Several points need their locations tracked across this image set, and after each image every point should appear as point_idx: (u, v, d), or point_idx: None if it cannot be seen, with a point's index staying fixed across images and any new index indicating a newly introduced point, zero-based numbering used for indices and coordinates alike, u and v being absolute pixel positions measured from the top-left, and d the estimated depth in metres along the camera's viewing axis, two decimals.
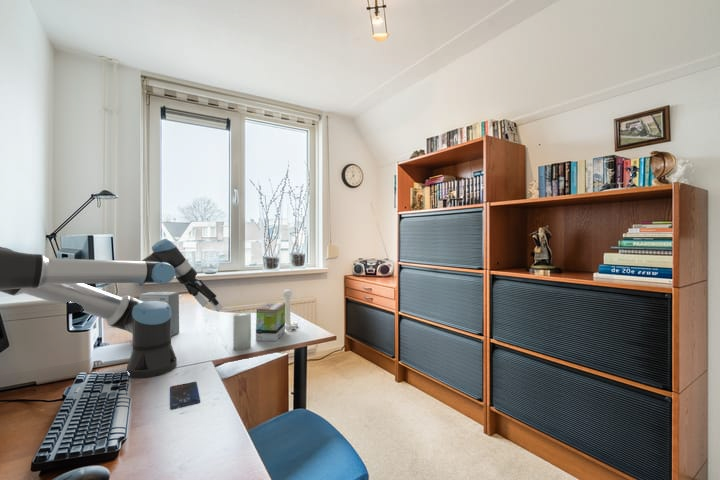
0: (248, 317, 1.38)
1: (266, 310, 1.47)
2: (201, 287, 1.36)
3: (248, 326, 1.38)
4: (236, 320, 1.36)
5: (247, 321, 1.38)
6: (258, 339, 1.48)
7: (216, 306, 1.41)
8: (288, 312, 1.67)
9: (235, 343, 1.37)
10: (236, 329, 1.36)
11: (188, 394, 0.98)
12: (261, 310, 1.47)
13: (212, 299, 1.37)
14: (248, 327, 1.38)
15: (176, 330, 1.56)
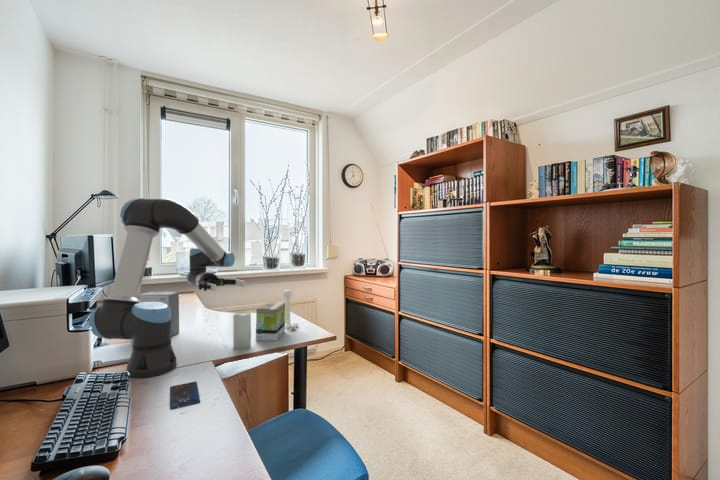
0: (248, 317, 1.38)
1: (266, 310, 1.47)
2: None
3: (248, 326, 1.38)
4: (236, 320, 1.36)
5: (247, 321, 1.38)
6: (258, 339, 1.48)
7: None
8: (288, 312, 1.67)
9: (235, 343, 1.37)
10: (235, 329, 1.36)
11: (188, 394, 0.98)
12: (261, 310, 1.47)
13: (241, 279, 1.58)
14: (248, 327, 1.38)
15: (176, 330, 1.56)
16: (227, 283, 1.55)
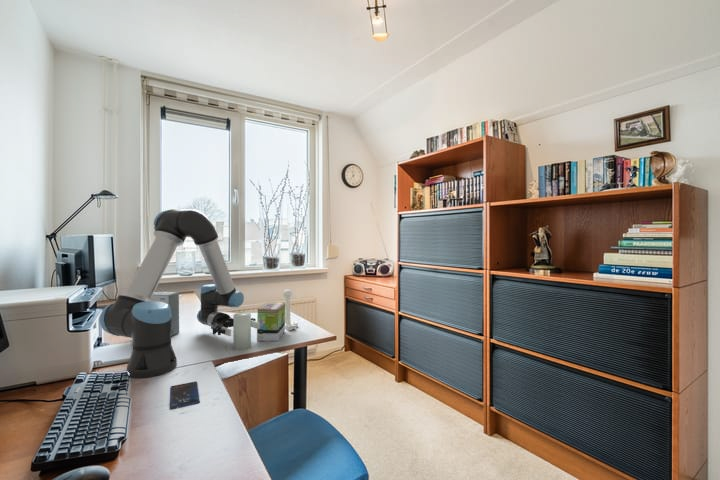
0: (248, 317, 1.38)
1: (267, 310, 1.47)
2: None
3: (248, 326, 1.38)
4: (236, 320, 1.36)
5: (247, 321, 1.38)
6: (259, 339, 1.47)
7: None
8: (288, 312, 1.67)
9: (235, 343, 1.37)
10: (236, 329, 1.36)
11: (188, 394, 0.98)
12: (262, 310, 1.47)
13: (255, 319, 1.51)
14: (248, 327, 1.38)
15: (176, 330, 1.56)
16: None
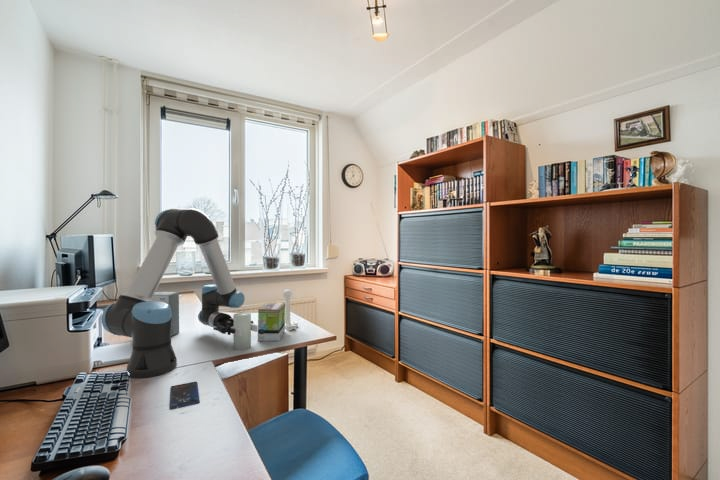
0: (248, 317, 1.38)
1: (268, 310, 1.47)
2: None
3: (248, 326, 1.38)
4: (236, 320, 1.36)
5: (247, 321, 1.38)
6: (260, 339, 1.47)
7: None
8: (288, 312, 1.67)
9: (235, 343, 1.37)
10: None
11: (188, 394, 0.98)
12: (263, 310, 1.47)
13: None
14: (248, 327, 1.38)
15: (176, 330, 1.56)
16: None
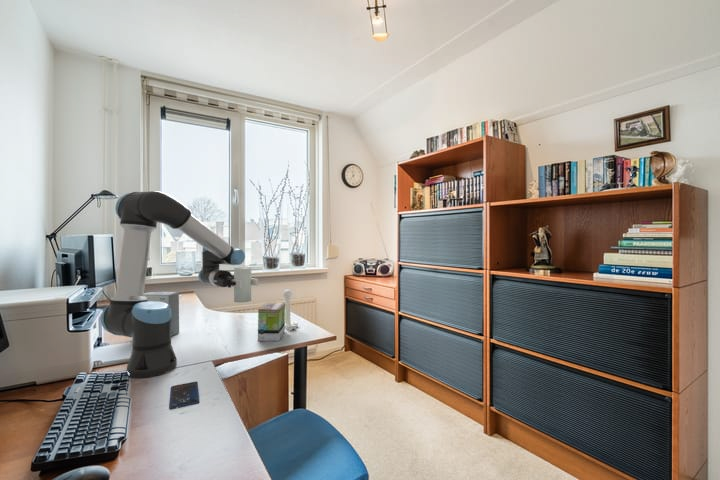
0: (249, 270, 1.38)
1: (268, 310, 1.47)
2: None
3: (249, 279, 1.38)
4: (237, 272, 1.36)
5: (248, 274, 1.38)
6: (260, 339, 1.47)
7: None
8: (288, 312, 1.67)
9: (235, 296, 1.37)
10: None
11: (188, 394, 0.98)
12: (263, 310, 1.47)
13: (253, 277, 1.47)
14: (248, 281, 1.38)
15: (176, 330, 1.56)
16: None
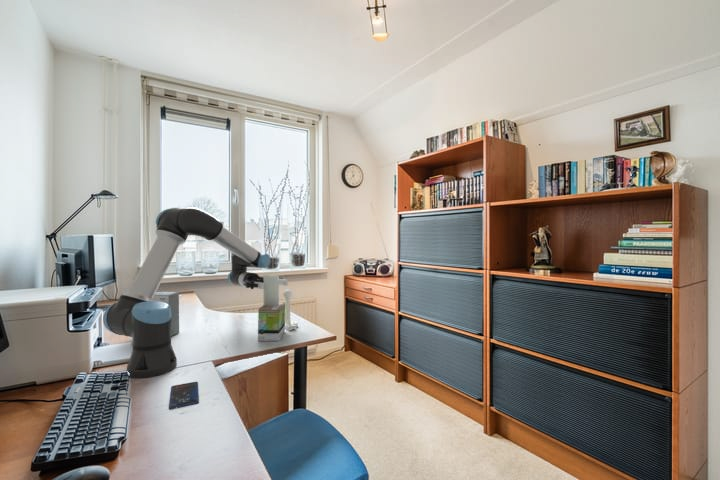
0: (277, 278, 1.53)
1: (268, 310, 1.47)
2: None
3: (277, 286, 1.53)
4: (266, 280, 1.51)
5: (276, 281, 1.53)
6: (260, 339, 1.47)
7: None
8: (288, 312, 1.67)
9: (265, 301, 1.52)
10: (266, 288, 1.51)
11: (188, 394, 0.98)
12: (263, 310, 1.47)
13: (282, 278, 1.65)
14: (276, 287, 1.53)
15: (176, 330, 1.56)
16: None
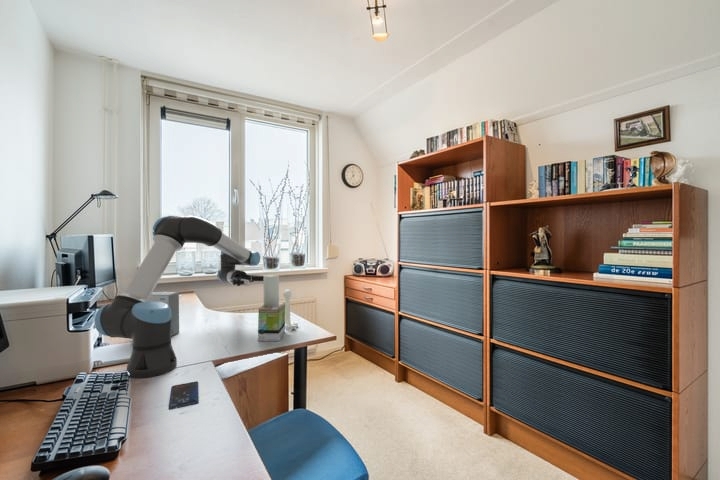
0: (277, 278, 1.53)
1: (268, 310, 1.47)
2: None
3: (277, 286, 1.53)
4: (266, 280, 1.51)
5: (276, 281, 1.53)
6: (260, 339, 1.47)
7: None
8: (288, 312, 1.67)
9: (265, 301, 1.52)
10: (266, 288, 1.51)
11: (188, 394, 0.98)
12: (263, 310, 1.47)
13: None
14: (276, 287, 1.53)
15: (176, 330, 1.56)
16: (256, 280, 1.70)
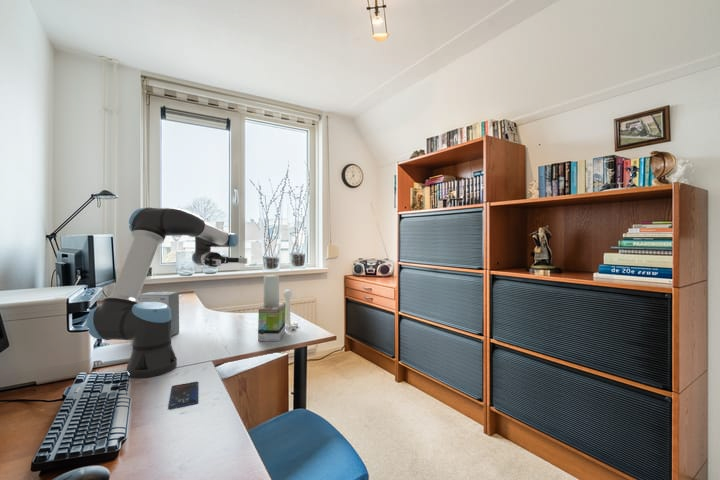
0: (277, 278, 1.53)
1: (268, 310, 1.47)
2: None
3: (277, 286, 1.53)
4: (267, 280, 1.51)
5: (276, 281, 1.53)
6: (260, 339, 1.47)
7: None
8: (288, 312, 1.67)
9: (265, 301, 1.52)
10: (266, 288, 1.51)
11: (188, 394, 0.98)
12: (263, 310, 1.47)
13: (243, 258, 1.69)
14: (277, 287, 1.53)
15: (176, 330, 1.56)
16: (230, 261, 1.66)
